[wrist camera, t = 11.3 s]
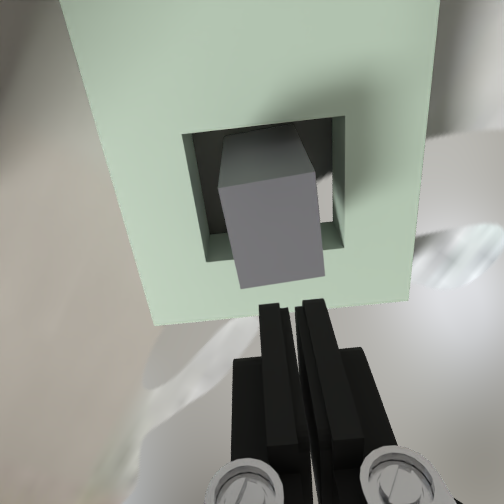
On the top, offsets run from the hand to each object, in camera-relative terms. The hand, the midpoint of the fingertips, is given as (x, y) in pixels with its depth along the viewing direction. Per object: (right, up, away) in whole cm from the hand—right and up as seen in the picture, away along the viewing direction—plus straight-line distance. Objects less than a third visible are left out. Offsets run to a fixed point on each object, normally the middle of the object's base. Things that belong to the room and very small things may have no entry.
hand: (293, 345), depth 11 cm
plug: (0, +7, +11) cm, 13 cm away
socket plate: (-1, +9, +9) cm, 13 cm away
